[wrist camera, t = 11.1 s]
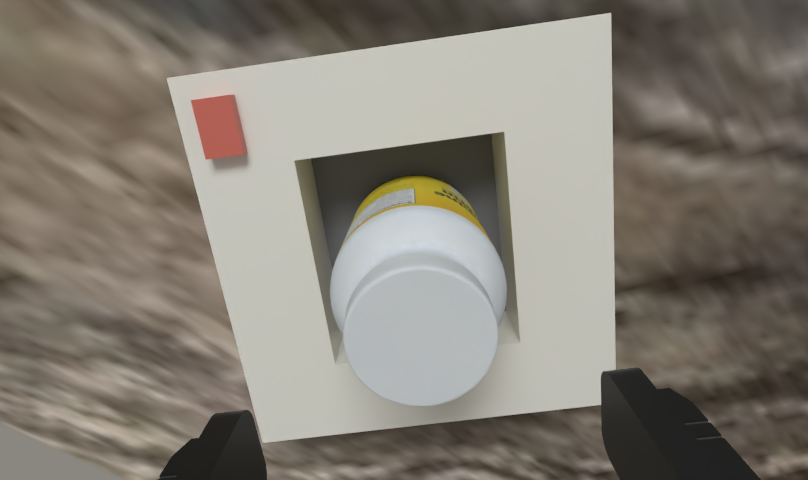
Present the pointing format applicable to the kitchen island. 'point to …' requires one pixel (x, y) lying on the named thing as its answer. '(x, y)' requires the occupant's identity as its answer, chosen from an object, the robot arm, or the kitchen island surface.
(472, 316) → the pill bottle
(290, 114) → the socket block
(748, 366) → the kitchen island surface
